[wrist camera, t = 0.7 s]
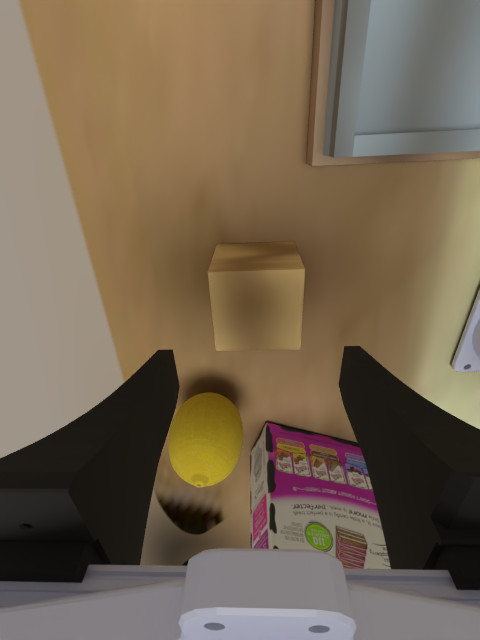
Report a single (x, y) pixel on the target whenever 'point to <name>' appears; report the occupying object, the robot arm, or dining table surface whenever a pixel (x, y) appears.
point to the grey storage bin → (394, 81)
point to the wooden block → (257, 296)
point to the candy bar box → (314, 498)
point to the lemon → (205, 439)
